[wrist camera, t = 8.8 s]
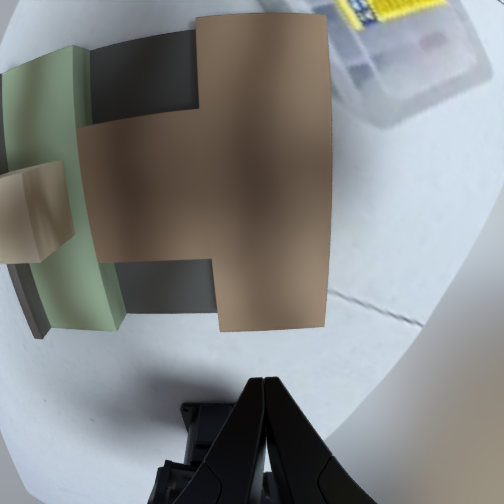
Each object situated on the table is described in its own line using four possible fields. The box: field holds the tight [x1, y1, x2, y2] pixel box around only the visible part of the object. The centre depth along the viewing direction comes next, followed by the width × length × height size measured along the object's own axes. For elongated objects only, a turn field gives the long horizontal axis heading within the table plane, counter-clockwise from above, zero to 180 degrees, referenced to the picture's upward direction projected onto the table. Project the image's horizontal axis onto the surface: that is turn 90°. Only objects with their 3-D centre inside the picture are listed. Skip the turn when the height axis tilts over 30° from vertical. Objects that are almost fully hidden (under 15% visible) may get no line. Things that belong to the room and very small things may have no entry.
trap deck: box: [0, 13, 332, 339], centre depth 17 cm, size 20×18×4 cm
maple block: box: [0, 160, 75, 264], centre depth 14 cm, size 4×4×4 cm
